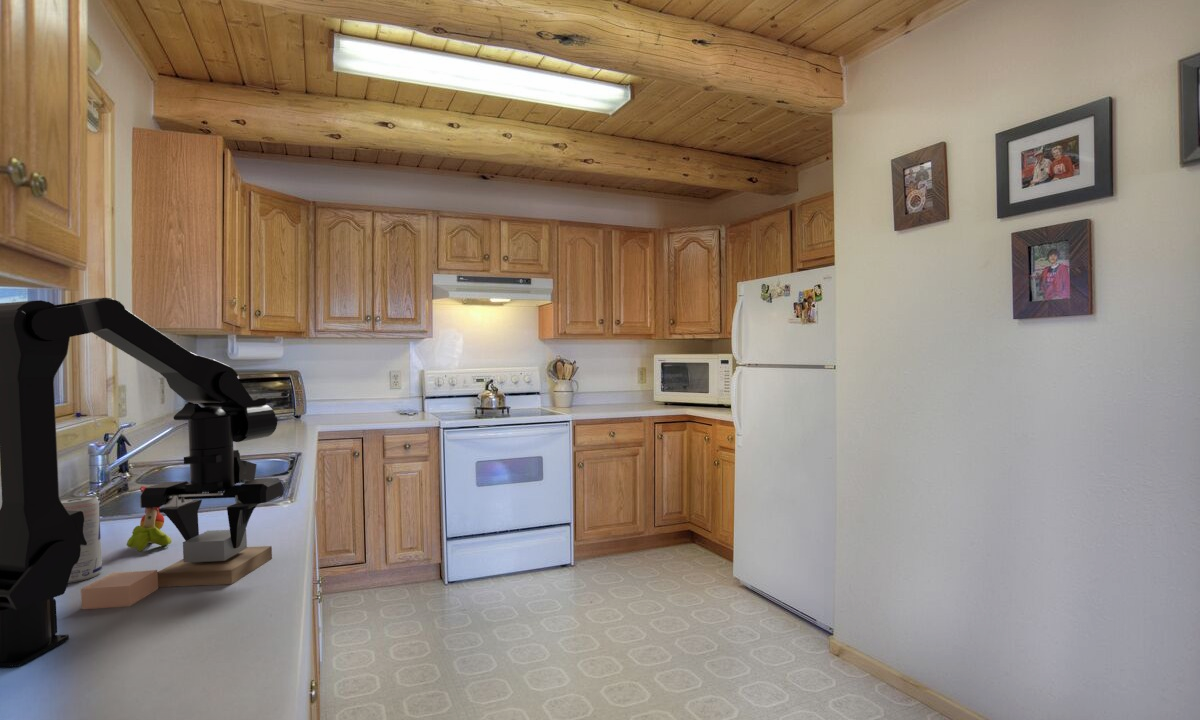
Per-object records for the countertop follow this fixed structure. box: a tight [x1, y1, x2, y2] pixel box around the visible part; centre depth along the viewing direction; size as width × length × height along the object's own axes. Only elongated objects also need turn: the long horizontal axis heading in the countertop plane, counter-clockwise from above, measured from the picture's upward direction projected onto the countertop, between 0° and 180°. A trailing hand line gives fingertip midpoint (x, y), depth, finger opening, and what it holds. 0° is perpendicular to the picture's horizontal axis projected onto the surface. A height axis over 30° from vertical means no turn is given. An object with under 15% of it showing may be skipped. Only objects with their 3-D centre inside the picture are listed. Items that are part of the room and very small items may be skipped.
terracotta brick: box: [80, 569, 159, 610], centre depth 84 cm, size 6×6×3 cm
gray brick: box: [182, 529, 248, 562], centre depth 94 cm, size 6×6×3 cm
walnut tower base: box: [157, 545, 273, 588], centre depth 94 cm, size 11×11×2 cm
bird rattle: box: [125, 486, 172, 552], centre depth 109 cm, size 6×11×9 cm
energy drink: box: [60, 494, 103, 584], centre depth 93 cm, size 5×5×12 cm
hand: (215, 548), depth 94 cm, fingers closed on gray brick, 6 cm apart
